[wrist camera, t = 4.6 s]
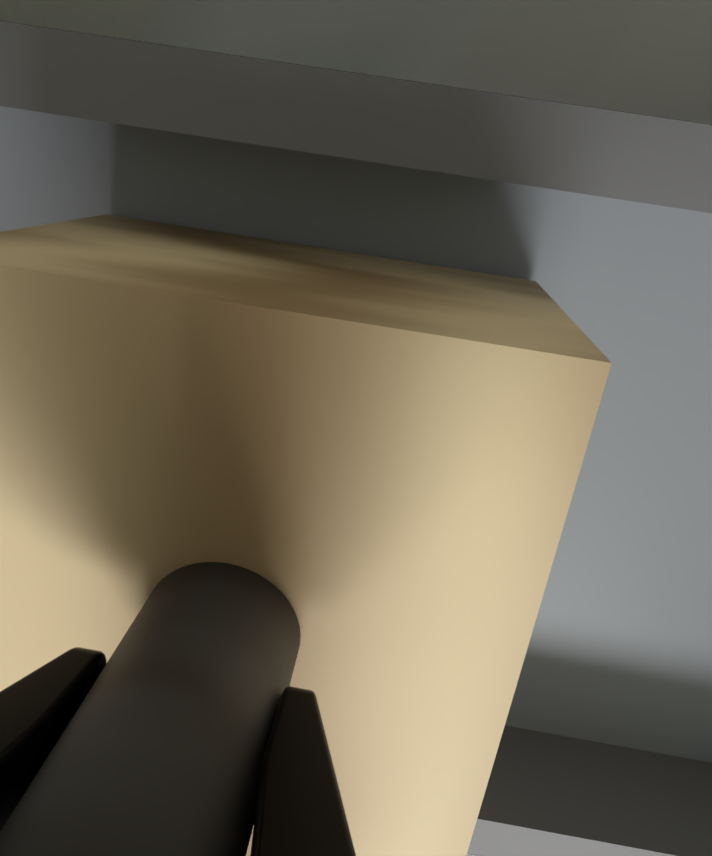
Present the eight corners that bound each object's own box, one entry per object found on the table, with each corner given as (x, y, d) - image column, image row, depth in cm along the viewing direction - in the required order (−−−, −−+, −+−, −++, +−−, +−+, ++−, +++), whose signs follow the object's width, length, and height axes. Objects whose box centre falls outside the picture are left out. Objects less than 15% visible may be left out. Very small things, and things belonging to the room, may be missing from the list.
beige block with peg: (106, 605, 18) (-317, 1199, 8) (106, 214, 14) (-737, 354, 4) (444, 665, 17) (471, 1369, 7) (536, 281, 14) (855, 626, 4)
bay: (-70, 628, 20) (-355, 897, 13) (-147, 19, 14) (-767, -134, 7) (820, 788, 19) (1065, 1178, 12) (1143, 209, 13) (2048, 270, 6)
